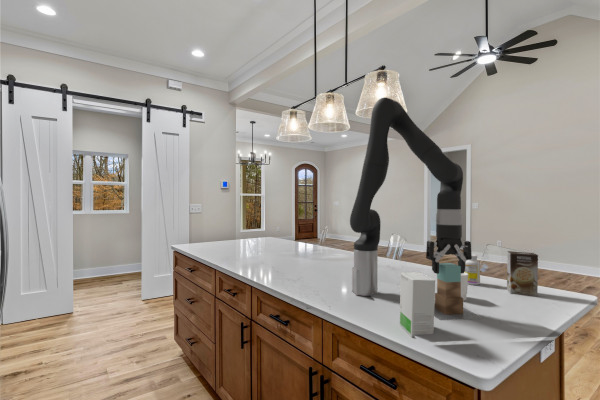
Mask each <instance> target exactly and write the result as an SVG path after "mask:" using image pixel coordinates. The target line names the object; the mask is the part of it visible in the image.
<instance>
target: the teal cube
mask: <svg viewBox="0 0 600 400" xmlns="http://www.w3.org/2000/svg"><path fill="white" fill-rule="evenodd" d="M437 279H440V280H442V281H444V282H461V266H459V265H458V264H456V263H455V264H454V263H452V262H443V263H441V262H439V274H436V280H437Z"/></svg>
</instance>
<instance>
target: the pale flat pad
mask: <svg viewBox="0 0 600 400" xmlns="http://www.w3.org/2000/svg"><path fill="white" fill-rule="evenodd" d="M434 318H437V319H438V320H440V321H450V320H451V321H452V320H453V321H455V320H481V319H485V318H484V317H482V316H480V315H478V314H477V313H475V312H473V311H471V310H469V309H467V308H465V307H464V306H463V314H450V315H445V314H444V313H442V312H440V311H439V310H437V309H436V308H435V303H434Z"/></svg>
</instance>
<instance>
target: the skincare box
mask: <svg viewBox="0 0 600 400" xmlns="http://www.w3.org/2000/svg"><path fill="white" fill-rule="evenodd" d="M399 292H400V293H399V294H400V295H399V297H400V300H399V302H400V303H399V323H398V324H399V326H400V327H401V329H403V331H405V332H406V333H407V335H409V336H410V338H416V335H417V336H418V335H419V336H420V335H434V331H435V329H434V327H435V326H434V325H435V316H434V304H435V293H436V280H435V279H434V278H431V277H430V276H429V275H426V274H424V273H422V272H413V271H412V272H400V291H399Z"/></svg>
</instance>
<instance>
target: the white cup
mask: <svg viewBox="0 0 600 400" xmlns="http://www.w3.org/2000/svg"><path fill="white" fill-rule="evenodd" d="M468 286H469V284H468V273H465V272H464V273H461V297H462V298H463V301H467V295H468Z"/></svg>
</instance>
